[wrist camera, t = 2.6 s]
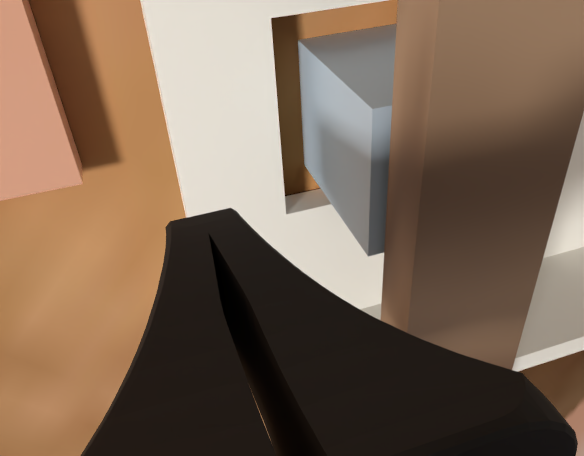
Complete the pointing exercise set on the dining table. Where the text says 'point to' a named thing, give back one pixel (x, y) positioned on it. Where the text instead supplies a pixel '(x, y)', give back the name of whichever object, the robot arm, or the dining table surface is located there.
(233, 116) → the puzzle board
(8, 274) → the dining table surface
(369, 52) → the slate block
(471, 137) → the sliding bar
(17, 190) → the salmon pink tile
